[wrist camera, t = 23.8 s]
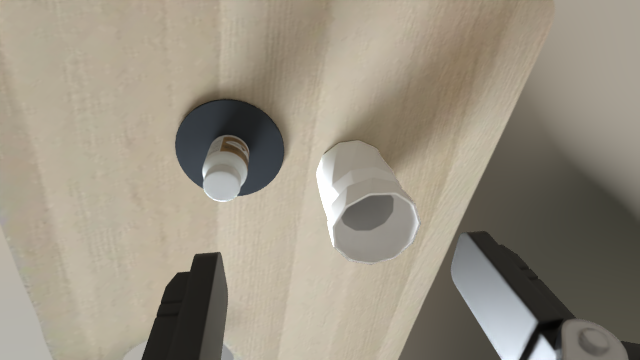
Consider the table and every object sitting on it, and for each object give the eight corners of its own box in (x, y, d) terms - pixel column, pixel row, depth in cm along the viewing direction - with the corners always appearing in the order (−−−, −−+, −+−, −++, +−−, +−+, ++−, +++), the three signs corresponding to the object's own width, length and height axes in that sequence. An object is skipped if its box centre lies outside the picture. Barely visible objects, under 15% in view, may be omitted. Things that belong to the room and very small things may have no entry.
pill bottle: (257, 152, 39) (255, 186, 32) (230, 175, 40) (223, 213, 33) (228, 125, 37) (219, 156, 30) (201, 151, 38) (187, 186, 31)
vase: (379, 199, 45) (412, 262, 35) (314, 201, 44) (328, 267, 34) (389, 138, 41) (430, 189, 30) (317, 138, 40) (334, 192, 29)
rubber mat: (161, 171, 39) (160, 173, 39) (199, 78, 34) (198, 79, 34) (256, 208, 43) (256, 209, 43) (302, 129, 39) (302, 130, 38)
